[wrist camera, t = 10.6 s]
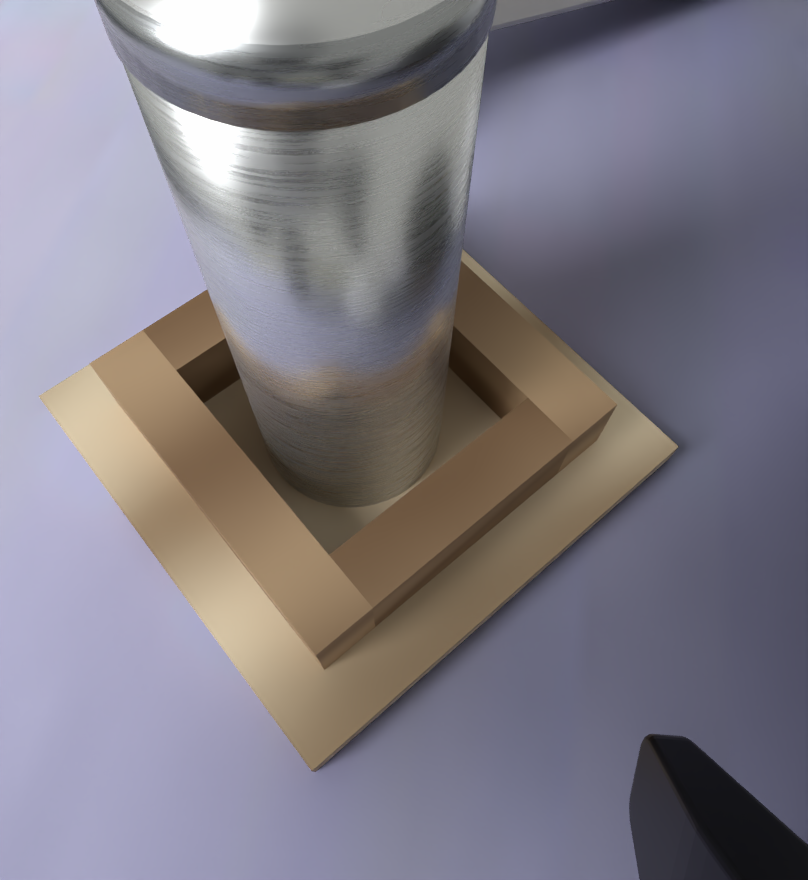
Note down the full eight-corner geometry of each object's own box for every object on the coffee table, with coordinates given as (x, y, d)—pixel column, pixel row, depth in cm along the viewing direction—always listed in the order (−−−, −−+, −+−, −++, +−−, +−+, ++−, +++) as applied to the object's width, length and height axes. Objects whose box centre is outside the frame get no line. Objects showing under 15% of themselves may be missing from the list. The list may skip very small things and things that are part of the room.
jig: (668, 458, 20) (707, 411, 18) (315, 772, 17) (301, 768, 15) (385, 196, 24) (384, 126, 22) (51, 409, 21) (3, 357, 18)
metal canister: (471, 468, 19) (588, -34, 8) (298, 537, 19) (130, 94, 7) (400, 326, 21) (404, -257, 9) (239, 383, 20) (25, -177, 9)
